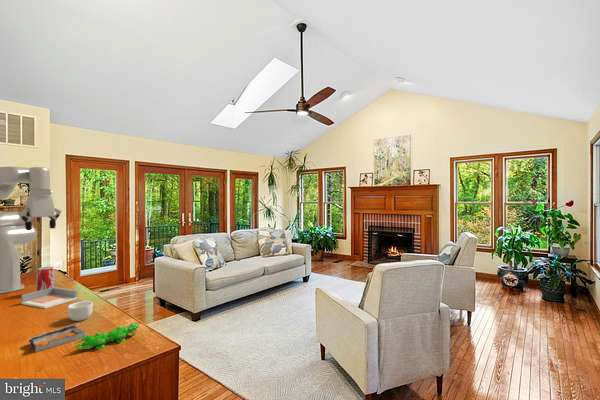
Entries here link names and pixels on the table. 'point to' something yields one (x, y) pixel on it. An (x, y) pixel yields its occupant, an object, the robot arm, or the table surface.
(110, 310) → the table surface
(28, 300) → the open box
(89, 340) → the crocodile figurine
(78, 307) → the teacup
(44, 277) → the soda can
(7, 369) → the table surface
